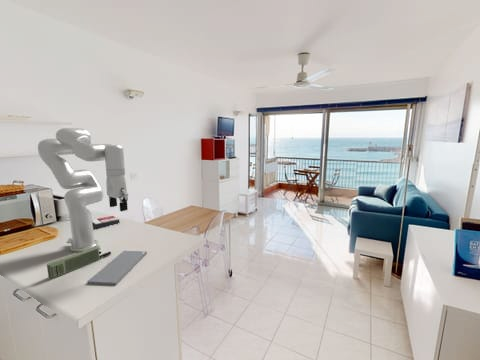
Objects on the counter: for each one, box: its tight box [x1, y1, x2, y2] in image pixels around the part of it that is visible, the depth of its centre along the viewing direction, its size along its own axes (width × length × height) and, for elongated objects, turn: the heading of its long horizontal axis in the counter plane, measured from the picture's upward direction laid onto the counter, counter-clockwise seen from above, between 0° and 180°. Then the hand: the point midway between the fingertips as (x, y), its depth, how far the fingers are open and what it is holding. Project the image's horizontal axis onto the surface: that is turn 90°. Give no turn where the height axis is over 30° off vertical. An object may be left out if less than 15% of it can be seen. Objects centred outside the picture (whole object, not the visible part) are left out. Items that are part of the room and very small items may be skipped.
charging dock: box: [86, 250, 148, 286], centre depth 106 cm, size 12×26×1 cm, turn 176°
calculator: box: [92, 215, 120, 230], centre depth 158 cm, size 11×4×15 cm
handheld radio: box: [46, 245, 112, 280], centre depth 107 cm, size 7×3×25 cm
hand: (118, 208), depth 110 cm, fingers open, 9 cm apart
